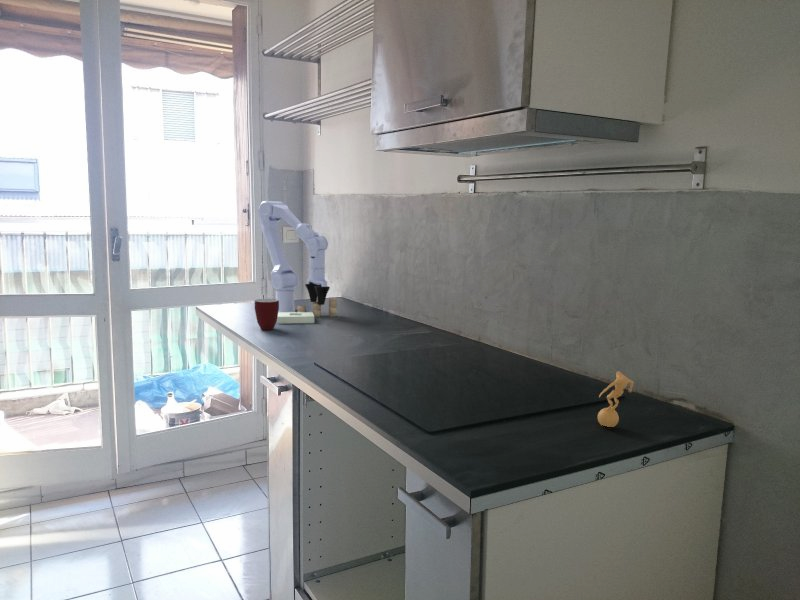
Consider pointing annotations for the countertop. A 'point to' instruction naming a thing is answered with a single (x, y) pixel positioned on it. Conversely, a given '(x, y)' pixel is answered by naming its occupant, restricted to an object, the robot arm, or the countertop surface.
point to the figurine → (609, 414)
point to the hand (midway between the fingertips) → (317, 303)
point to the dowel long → (332, 307)
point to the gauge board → (295, 317)
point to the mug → (266, 313)
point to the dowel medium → (316, 309)
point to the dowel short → (300, 308)
